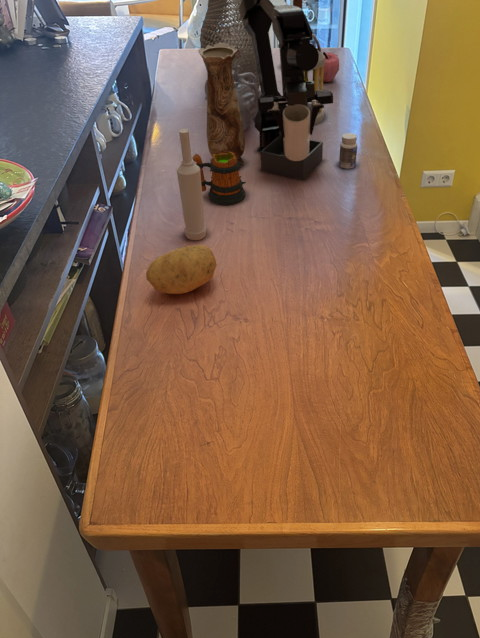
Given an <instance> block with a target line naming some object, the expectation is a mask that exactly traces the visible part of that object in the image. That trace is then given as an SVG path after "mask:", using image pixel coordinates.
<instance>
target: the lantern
mask: <svg viewBox="0 0 480 638" xmlns="http://www.w3.org/2000/svg"><path fill="white" fill-rule="evenodd" d="M312 37H313V40H314V42H315V44H316V49H317V51H318V53H319V60H318V63H317V65H316V66H315V68H313V69H312V81H314V87H315V90H324V81H323V70H324V64H325V56H324V54H323V52H322V48H321V44H320V41H319V39H318V38H317V37H316V35H315V34H313V33H312ZM320 67H321V73H320V77H319V68H320ZM304 72H305V83H306V82H307V81H310V80H309V71H304ZM310 104H311V103H310V102H307V104H304V105H305V106H306V107H308V108H309V110H310ZM286 106H288V105H286ZM324 119H325V111H324V110H323V108H321V109H320V110H319V112H318V115H317V117H316V120H315V124H314V125H317V124H319V123H321V122H322V121H324Z"/></svg>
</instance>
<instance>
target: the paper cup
mask: <svg viewBox="0 0 480 638" xmlns="http://www.w3.org/2000/svg"><path fill="white" fill-rule="evenodd" d="M286 106H287V105H286ZM283 130H284V138H283V140H284V154H285V156H286V157H287V158H288V159H290V160H292V161H301V160H303V159H305V158H306V157H307V156H308V155H309V148H310V140H311V137H310V136H311V135H310V110H309V108H308V107H306V106H305V105H302V104H297V105H294V106H289V105H288V106H287V107H285V109H284V110H283Z"/></svg>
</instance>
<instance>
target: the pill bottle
mask: <svg viewBox="0 0 480 638" xmlns="http://www.w3.org/2000/svg"><path fill="white" fill-rule="evenodd" d="M357 140H358V135H357V134H356V133H352V132H347V133H343V134H342V136H341V142H340V143H339V156H338V157H339V159H338V160H339V161H338V166H339V167H340V168H341V169H353V168H355V166H356V165H357V156H358V142H357Z"/></svg>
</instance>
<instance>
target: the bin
mask: <svg viewBox="0 0 480 638" xmlns="http://www.w3.org/2000/svg"><path fill="white" fill-rule="evenodd" d="M323 151H324V141H319V140H316V139H315V140H314V139H310V148H309V155H308V156H307V157H306V158H305V159H303V160H301V161H292V160H290V159H288V158H287V157H286V156H285V154H284V140H283V138H282V135H279V136H278V137H277V138H276V139H275V140H273V141H272V142H271V143H270V144H269V145H268V146H266V147H265V148H264V149H263V150H262V151H261V152H259V153H260V171H261V172H265V173H270V174H275V175H278V176H284V177H288V178H293V179H297V180H302V181H305V179H306V178H307V177H308V176H309V175H310V174H311V173H312V172H313V171H314V170H315V169H316V168H317V167H318V166H319V165H320V164H321V163H322V162H323Z"/></svg>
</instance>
